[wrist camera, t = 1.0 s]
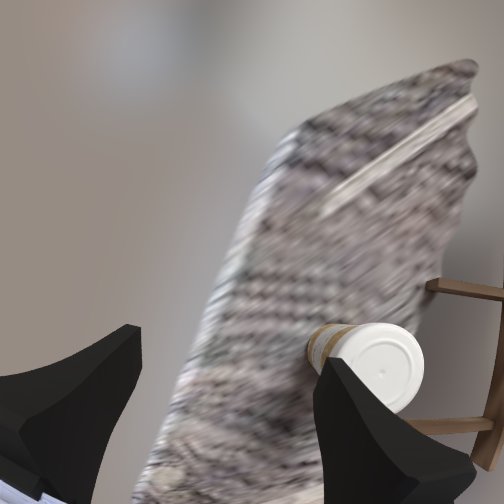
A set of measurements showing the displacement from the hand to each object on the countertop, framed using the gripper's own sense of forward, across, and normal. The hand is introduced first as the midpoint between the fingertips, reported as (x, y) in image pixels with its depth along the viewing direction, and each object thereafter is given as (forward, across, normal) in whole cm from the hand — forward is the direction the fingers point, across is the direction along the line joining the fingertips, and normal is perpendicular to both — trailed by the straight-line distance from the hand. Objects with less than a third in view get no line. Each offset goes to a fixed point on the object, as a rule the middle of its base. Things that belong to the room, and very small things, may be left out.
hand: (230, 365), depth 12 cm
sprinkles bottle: (+12, -8, +7) cm, 16 cm away
